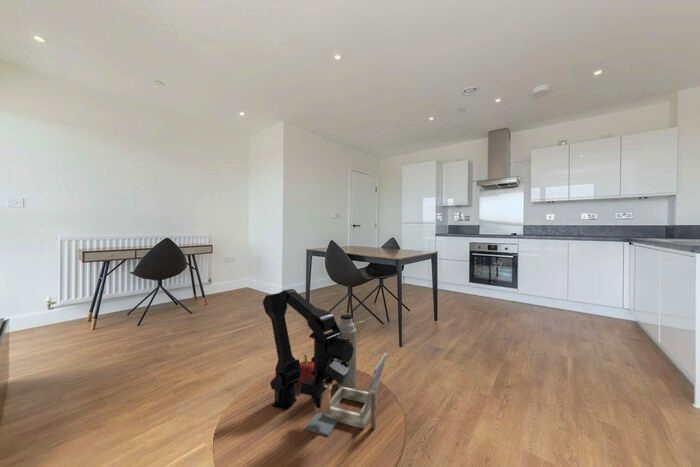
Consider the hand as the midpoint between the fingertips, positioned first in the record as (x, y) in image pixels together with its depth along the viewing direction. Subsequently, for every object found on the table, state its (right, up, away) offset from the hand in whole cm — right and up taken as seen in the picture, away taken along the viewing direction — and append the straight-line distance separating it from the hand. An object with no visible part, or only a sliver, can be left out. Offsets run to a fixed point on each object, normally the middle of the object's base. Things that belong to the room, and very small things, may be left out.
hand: (322, 403), depth 85 cm
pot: (0, -2, 0) cm, 2 cm away
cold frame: (+11, -7, +6) cm, 14 cm away
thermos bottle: (+7, -8, +24) cm, 26 cm away
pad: (0, -7, 0) cm, 7 cm away
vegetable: (-9, -8, +25) cm, 28 cm away
